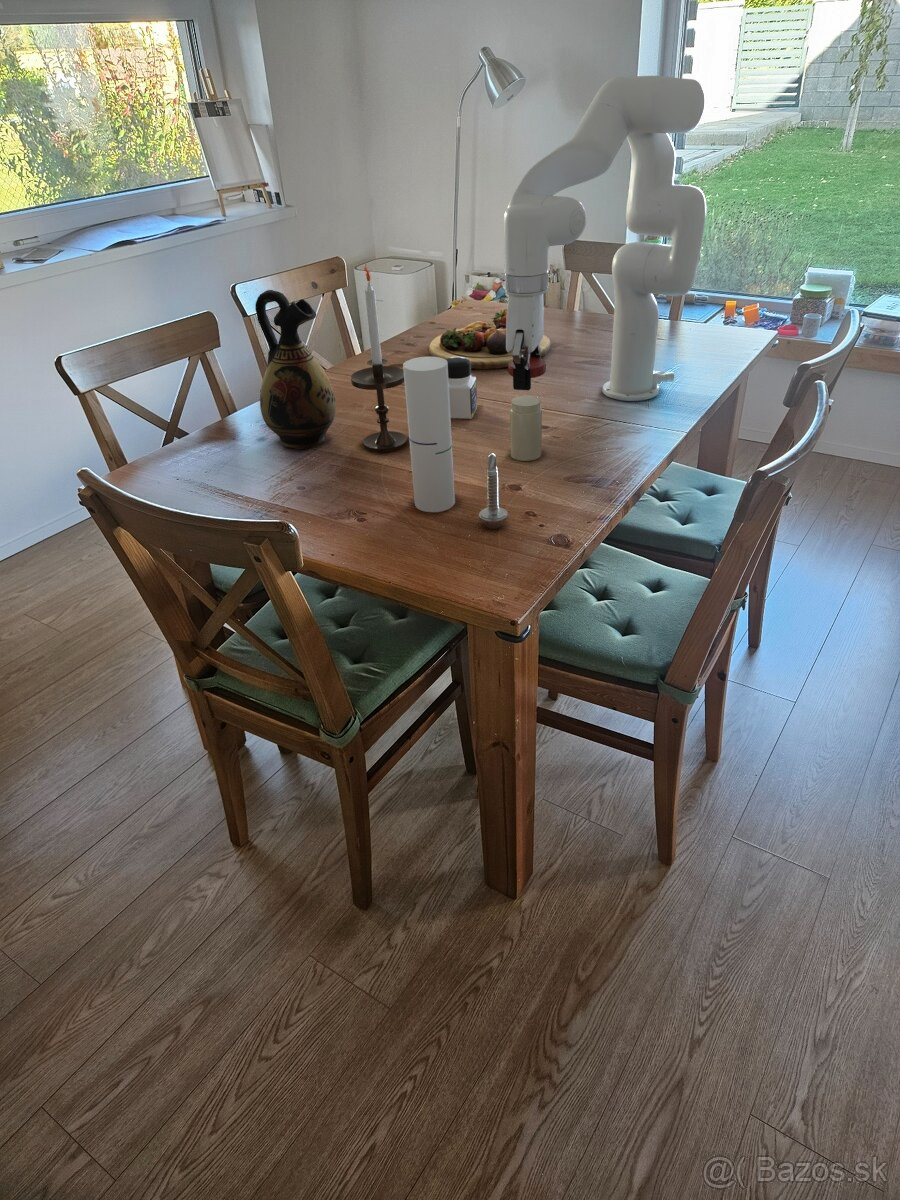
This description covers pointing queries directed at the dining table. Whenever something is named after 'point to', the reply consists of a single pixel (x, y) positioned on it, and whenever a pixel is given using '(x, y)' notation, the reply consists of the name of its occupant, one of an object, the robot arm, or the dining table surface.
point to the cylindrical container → (430, 432)
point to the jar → (526, 428)
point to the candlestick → (378, 382)
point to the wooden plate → (480, 343)
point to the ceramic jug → (293, 378)
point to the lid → (532, 367)
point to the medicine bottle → (461, 388)
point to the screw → (493, 498)
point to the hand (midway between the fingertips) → (527, 381)
